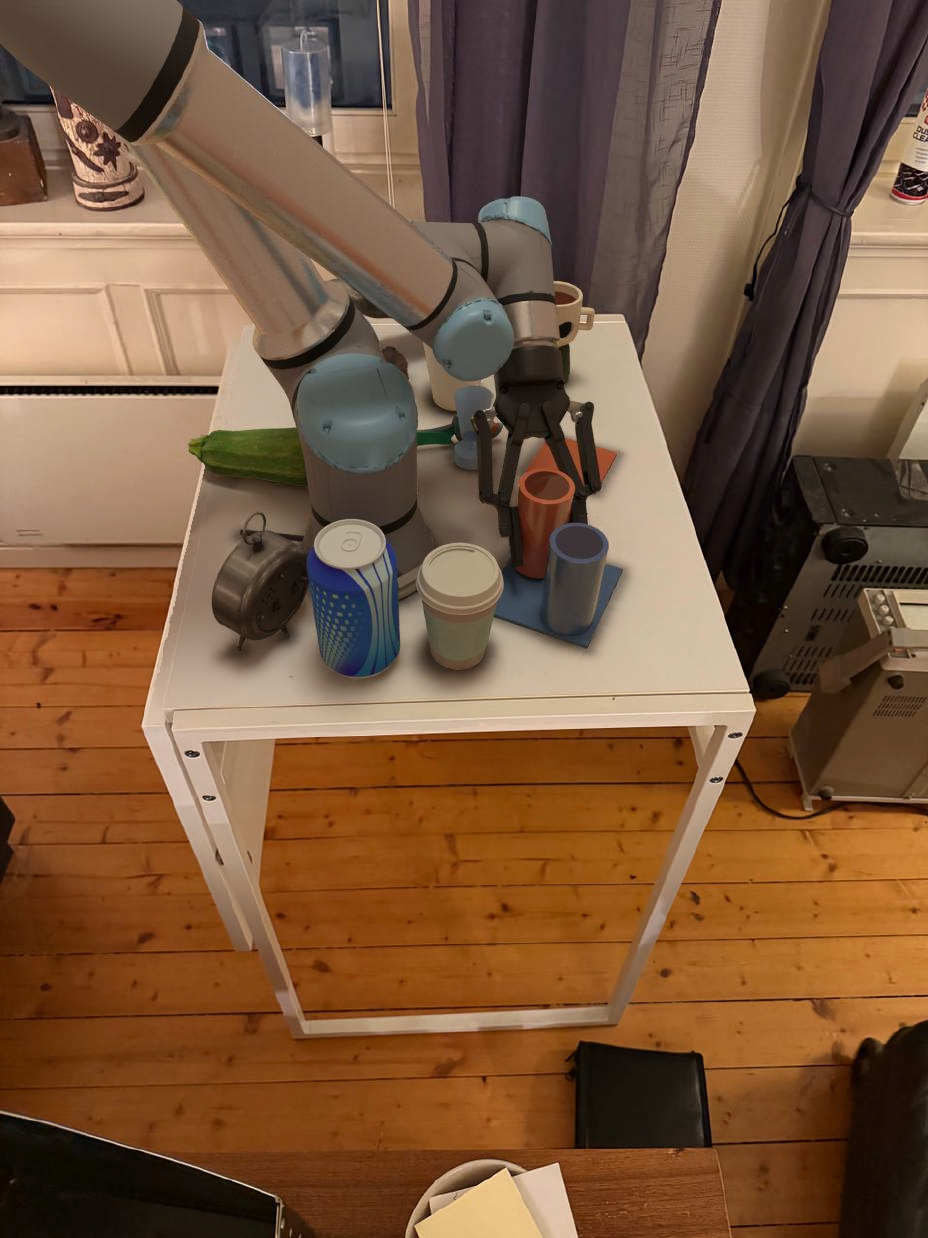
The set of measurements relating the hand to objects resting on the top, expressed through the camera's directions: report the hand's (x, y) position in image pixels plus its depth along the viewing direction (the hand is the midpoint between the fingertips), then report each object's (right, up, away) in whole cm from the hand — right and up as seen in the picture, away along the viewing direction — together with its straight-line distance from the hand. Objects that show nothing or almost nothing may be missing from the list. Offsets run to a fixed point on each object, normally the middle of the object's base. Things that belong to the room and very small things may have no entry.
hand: (547, 562), depth 96 cm
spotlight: (-8, +15, +19) cm, 26 cm away
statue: (-2, +38, +37) cm, 53 cm away
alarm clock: (-30, -8, -2) cm, 31 cm away
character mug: (+3, +29, +32) cm, 44 cm away
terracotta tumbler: (-1, +1, +5) cm, 5 cm away
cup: (-11, +25, +28) cm, 39 cm away
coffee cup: (-10, -10, -3) cm, 14 cm away
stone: (-22, +30, +30) cm, 48 cm away
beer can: (-20, -10, -4) cm, 23 cm away
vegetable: (-24, +13, +12) cm, 30 cm away
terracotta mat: (+5, +14, +18) cm, 24 cm away
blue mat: (+1, -3, +3) cm, 4 cm away
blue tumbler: (+2, -6, 0) cm, 6 cm away
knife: (-14, +17, +20) cm, 30 cm away
